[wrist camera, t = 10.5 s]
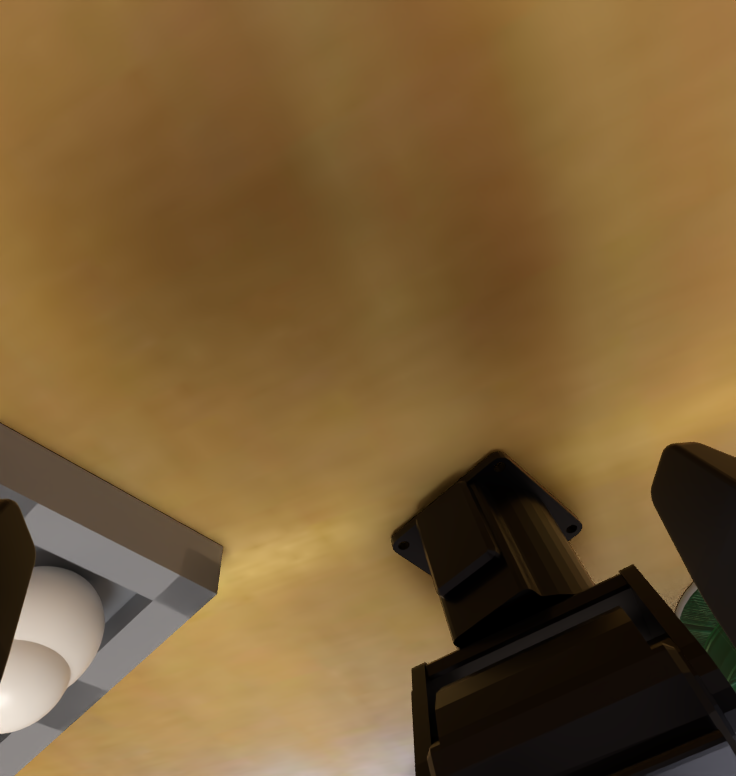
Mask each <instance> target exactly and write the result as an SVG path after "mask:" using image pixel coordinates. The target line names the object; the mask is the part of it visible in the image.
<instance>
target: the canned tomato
mask: <svg viewBox="0 0 736 776" xmlns="http://www.w3.org/2000/svg"><path fill="white" fill-rule="evenodd" d="M676 616H677V617H678V618H679V619H680V620H681V622H682V623H683V624H684V625H685V626H686V627H687V629H688V630H689V631H690V632H691V633H692V635H693V636H694V637H695V638H696V639H697V641H698V642H699V643H700V644H701V646H702V647H703V648H704V649H705V651H706V652H707V653H708V654H709V656H710V657H711V658H712V660H713V661H714V662H715V664H716V665H717V667H718V668H719V669H720V671H721V672H722V674H723V675H724V676H725V678H726V679H727V681H728V682H729V684H730V685H731V686H732V688H733V689H734V691H735V693H736V649H735V647H734V646H733V644H732V643H731V641H730V640H729V638H728V636H727V635H726V633H725V632H724V630H723V629H722V627H721V626H720V624H719V623H718V621H717V620H716V618H715V616H714V615H713V613H712V612H711V610H710V609H709V607H708V605H707V604H706V602H705V600H704V599H703V597H702V596H701V594H700V592H699V590H698V588H697V587H696V585H695V583H694V582H693V583H692V584H691V586H690V587H689V588H688V589H687V590H686V591H685V593H684V595H683V596H682V598H681V599H680V601H679V604H678V606H677V609H676Z"/></svg>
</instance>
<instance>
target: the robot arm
mask: <svg viewBox="0 0 736 776" xmlns="http://www.w3.org/2000/svg"><path fill="white" fill-rule="evenodd" d="M499 462H502V463H501V464H500V465H499V466H495V465H496V464H497V463H499ZM651 497H652V501H653V504H654V506H655V508H656V510H657V512H658V514H659V516H660V518H661V520H662V522H663V524H664V526H665V527H666V529H667V531H668V533H669V535H670V537H671V539H672V541H673V543H674V545H675V547H676V549H677V551H678V552H679V554H680V556H681V558H682V560H683V562H684V564H685V566H686V568H687V570H688V572H689V574H690V575H691V577H692V579H693V581H694V583H695V585H696V587H697V588H698V590H699V592H700V594H701V596H702V597H703V599H704V600H705V602H706V604H707V605H708V607H709V609H710V610H711V612H712V613H713V615H714V616H715V618H716V620H717V621H718V623H719V624H720V626H721V627H722V629H723V630H724V632H725V633H726V635H727V636H728V638H729V640H730V641H731V643H732V644H733V646H734V647H735V649H736V457H733V456H731V455H728V454H726V453H723V452H721V451H718V450H716V449H713V448H711V447H708V446H706V445H703V444H701V443H697V442H686V443H674V444H670V445H668V446H667V447H666V448H665V449H664V450H663V452H662V455H661V458H660V461H659V465H658V468H657V471H656V474H655V477H654V480H653V483H652V487H651ZM581 529H582V524H581V522H580V521H579V520H578V518H577V517H576V516H575V515H574V514H573V513H572V512H571V511H570V510H569V509H567V508H566V507H565V506H564V505H563V504H562V503H561V502H559V501H558V500H557V499H556V498H555V497H554V496H553V495H552V494H550V493H549V492H548V491H547V490H546V489H545V488H544V487H542V486H541V485H540V484H539V483H538V482H537V481H536V480H535V479H533V478H532V477H531V476H530V475H529V474H528V473H527V472H525V471H524V470H523V469H522V468H521V467H520V466H519V465H518V464H516V463H515V462H514V461H513V460H512V459H511V458H510V457H508V456H507V455H506V454H505V453H503V452H495V453H492V454H491V455H489V456H488V457H487V458H485V459H484V460H483V461H482V462H481V463H479V464H478V465H477V466H476V467H475V468H473V469H472V470H471V471H470V472H469V473H467V474H466V475H465V476H464V477H463V478H461V479H460V480H459V481H458V482H457V483H455V484H454V485H453V486H452V487H450V488H449V489H448V490H447V491H446V492H444V493H443V494H442V495H441V496H440V497H438V498H437V499H436V500H435V501H434V502H432V503H431V504H430V505H429V506H428V507H426V508H425V509H424V510H423V511H422V512H420V513H419V514H418V515H417V516H416V517H414V518H413V519H412V520H411V521H410V522H408V523H407V524H406V525H405V526H404V527H402V528H401V529H400V530H399V531H397V532H396V533H395V534H394V535H393V536H392V539H391V542H392V546H393V550H394V551H395V552H396V553H398V554H399V555H401V556H402V557H404V558H405V559H407V560H408V561H410V562H411V563H413V564H414V565H416V566H417V567H419V568H420V569H422V570H423V571H425V572H426V573H428V574H429V575H431V576H432V578H433V582H434V585H435V588H436V592H437V594H438V595H439V597H440V600H441V604H442V607H443V610H444V614H445V617H446V620H447V624H448V627H449V630H450V633H451V637H452V640H453V643H454V645H455V646H456V647H457V650H456V651H454V652H452V653H450V654H448V655H446V656H444V657H441V658H439V659H437V660H435V661H433V662H431V663H429V664H427V663H422V664H420V665H418V666H416V667H414V668H412V689H413V691H412V692H411V696H412V715H413V734H414V753H415V772H416V776H736V693H735V691H734V689H733V688H732V686H731V685H730V684H729V682H728V681H727V679H726V678H725V676H724V675H723V674H722V672H721V671H720V669H719V668H718V667H717V665H716V664H715V662H714V661H713V660H712V658H711V657H710V656H709V654H708V653H707V652H706V651H705V649H704V648H703V647H702V646H701V644H700V643H699V642H698V641H697V639H696V638H695V637H694V636H693V635H692V633H691V632H690V631H689V630H688V629H687V627H686V626H685V625H684V624H683V623H682V622H681V620H680V619H679V618H678V617H677V616H676V614H675V613H674V612H673V611H672V610H671V608H670V607H669V606H668V605H667V604H666V603H665V601H664V600H663V599H662V598H661V597H660V595H659V594H658V593H657V592H656V591H655V589H654V588H653V587H652V586H651V585H650V584H649V582H648V581H647V580H646V579H645V578H644V576H643V575H642V574H641V573H640V572H639V570H638V569H637V568H636V567H635V566H634V565H633V564H632V565H630V566H628V567H626V568H624V569H622V570H620V571H619V573H620V574H618V575H616V576H614V577H611V578H609V579H607V580H605V581H603V582H601V583H599V584H597V585H595V584H594V583H593V581H592V580H591V578H590V576H589V575H588V573H587V571H586V570H585V568H584V567H583V565H582V563H581V562H580V560H579V559H578V557H577V555H576V554H575V552H574V550H573V549H572V547H571V546H570V544H569V542H568V541H569V540H570V539H572V538H573V537H574V536H576V535H577V534H578V533H579V532H580V531H581ZM403 541H406V542H405V543H401V542H403ZM35 557H36V552H35V546H34V542H33V540H32V537H31V535H30V532H29V530H28V527H27V525H26V522H25V520H24V517H23V515H22V512H21V510H20V508H19V506H18V504H17V503H16V502H15V501H13V500H11V499H0V682H1V680H2V677H3V674H4V670H5V667H6V664H7V661H8V658H9V654H10V650H11V647H12V643H13V640H14V636H15V632H16V629H17V625H18V622H19V618H20V614H21V611H22V607H23V604H24V600H25V597H26V593H27V589H28V586H29V582H30V579H31V575H32V571H33V568H34V564H35Z"/></svg>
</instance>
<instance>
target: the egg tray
mask: <svg viewBox="0 0 736 776" xmlns="http://www.w3.org/2000/svg"><path fill="white" fill-rule="evenodd" d="M0 499H11V500H13V501H15V502H16V503H17V504H18V506H19V508H20V510H21V512H22V515H23V517H24V520H25V522H26V525H27V527H28V530H29V532H30V535H31V537H32V540H33V542H34V546H35V552H36V557H35V564H34V568H33V571H32V575H31V579H30V582H29V586H28V589H27V593H26V597H25V600H24V604H23V607H22V611H21V614H20V618H19V622H18V625H17V629H16V632H15V636H14V640H13V643H12V647H11V650H10V654H9V658H8V661H7V664H6V667H5V670H4V674H3V677H2V680H1V682H0V776H14V775H15V774H17V773H18V772H19V771H20V770H21V769H22V768H23V767H24V766H25V765H27V764H28V763H29V762H30V761H31V760H32V759H33V758H34V757H35V756H37V755H38V754H39V753H40V752H41V751H42V750H43V749H44V748H46V747H47V746H48V745H49V744H50V743H51V742H52V741H53V740H54V739H56V738H57V737H58V736H59V735H60V734H61V733H62V732H63V731H65V730H66V729H67V728H68V727H69V726H70V725H71V724H72V723H73V722H75V721H76V720H77V719H78V718H79V717H80V716H81V715H82V714H84V713H85V712H86V711H87V710H88V709H89V708H90V707H91V706H92V705H94V704H95V703H96V702H97V701H98V700H99V699H100V698H101V697H102V696H104V695H105V694H106V693H107V692H108V691H109V690H110V689H111V688H113V687H114V686H115V685H116V684H117V683H118V682H119V681H120V680H121V679H123V678H124V677H125V676H126V675H127V674H128V673H129V672H130V671H132V670H133V669H134V668H135V667H136V666H137V665H138V664H139V663H140V662H142V661H143V660H144V659H145V658H146V657H147V656H148V655H149V654H150V653H152V652H153V651H154V650H155V649H156V648H157V647H158V646H159V645H161V644H162V643H163V642H164V641H165V640H166V639H167V638H168V637H169V636H171V635H172V634H173V633H174V632H175V631H176V630H177V629H178V628H180V627H181V626H182V625H183V624H184V623H185V622H186V621H187V620H188V619H190V618H191V617H192V616H193V615H194V614H195V613H196V612H197V611H199V610H200V609H201V608H202V607H203V606H204V605H205V604H206V603H207V602H209V601H210V600H211V599H212V598H213V597H214V596H215V595H216V594H217V590H218V582H219V575H220V567H221V559H222V551H223V547H222V546H221V545H219V544H217V543H215V542H213V541H212V540H210V539H208V538H206V537H204V536H202V535H201V534H199V533H197V532H195V531H193V530H192V529H190V528H188V527H186V526H184V525H183V524H181V523H179V522H177V521H175V520H174V519H172V518H170V517H168V516H166V515H165V514H163V513H161V512H159V511H157V510H156V509H154V508H152V507H150V506H148V505H147V504H145V503H143V502H141V501H139V500H138V499H136V498H134V497H132V496H130V495H129V494H127V493H125V492H123V491H121V490H120V489H118V488H116V487H114V486H112V485H111V484H109V483H107V482H105V481H103V480H102V479H100V478H98V477H96V476H94V475H93V474H91V473H89V472H87V471H85V470H84V469H82V468H80V467H78V466H76V465H75V464H73V463H71V462H69V461H67V460H66V459H64V458H62V457H60V456H58V455H57V454H55V453H53V452H51V451H49V450H48V449H46V448H44V447H42V446H40V445H39V444H37V443H35V442H33V441H31V440H29V439H28V438H26V437H24V436H22V435H20V434H19V433H17V432H15V431H13V430H11V429H10V428H8V427H6V426H4V425H2V424H1V423H0Z"/></svg>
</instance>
